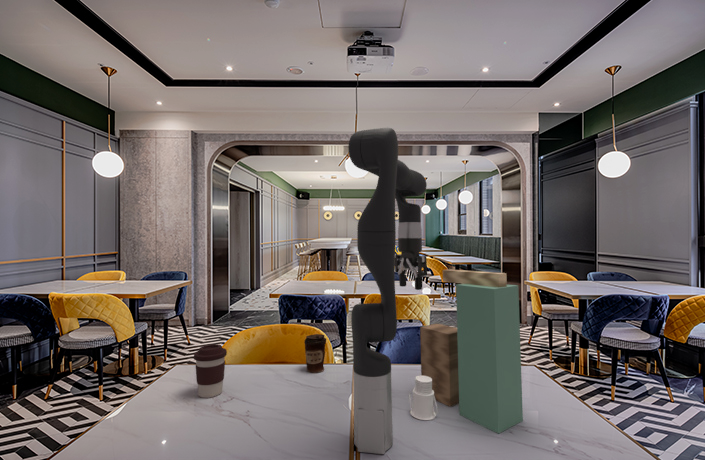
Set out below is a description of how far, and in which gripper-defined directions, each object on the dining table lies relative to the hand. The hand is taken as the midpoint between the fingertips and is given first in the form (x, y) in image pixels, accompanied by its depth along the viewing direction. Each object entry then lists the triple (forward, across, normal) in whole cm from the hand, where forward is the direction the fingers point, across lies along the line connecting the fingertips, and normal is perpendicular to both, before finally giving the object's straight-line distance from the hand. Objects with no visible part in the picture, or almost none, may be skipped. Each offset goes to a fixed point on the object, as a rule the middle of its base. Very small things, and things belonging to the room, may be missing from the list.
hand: (410, 287), depth 110 cm
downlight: (+34, -12, +4) cm, 36 cm away
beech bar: (-3, -16, -10) cm, 19 cm away
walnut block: (+34, -6, -8) cm, 35 cm away
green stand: (+33, -22, -11) cm, 41 cm away
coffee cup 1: (+34, +31, +57) cm, 74 cm away
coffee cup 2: (+35, +34, +20) cm, 53 cm away
